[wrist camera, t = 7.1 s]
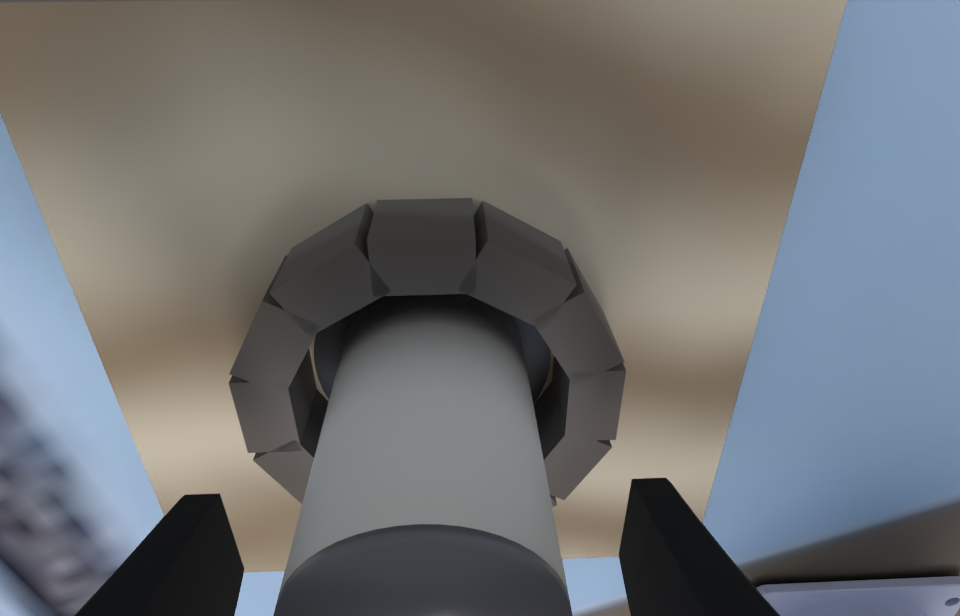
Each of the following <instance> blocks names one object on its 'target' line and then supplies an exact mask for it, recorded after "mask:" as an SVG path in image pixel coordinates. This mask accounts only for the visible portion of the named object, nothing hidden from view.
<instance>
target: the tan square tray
mask: <svg viewBox="0 0 960 616" xmlns="http://www.w3.org/2000/svg"><path fill="white" fill-rule="evenodd" d="M846 2H847V0H0V113H1V116H2V118H3V121H4V123H5V125H6V128H7V130H8V133H9V135H10V138H11V140H12V143H13V145H14V148H15V150H16V152H17V155H18V157H19V160H20V162H21V165H22V167H23V170H24V172H25V175H26V177H27V179H28V182H29V184H30V187H31V189H32V192H33V194H34V197H35V199H36V202H37V204H38V206H39V209H40V211H41V214H42V216H43V219H44V221H45V224H46V226H47V229H48V231H49V234H50V236H51V238H52V241H53V243H54V246H55V248H56V251H57V253H58V256H59V258H60V261H61V263H62V265H63V268H64V270H65V273H66V275H67V278H68V280H69V283H70V285H71V288H72V290H73V292H74V295H75V297H76V300H77V302H78V305H79V307H80V310H81V312H82V315H83V317H84V319H85V322H86V324H87V327H88V329H89V332H90V334H91V337H92V339H93V342H94V344H95V346H96V349H97V351H98V354H99V356H100V359H101V361H102V364H103V366H104V369H105V371H106V373H107V376H108V378H109V381H110V383H111V386H112V388H113V391H114V393H115V396H116V398H117V401H118V403H119V405H120V408H121V410H122V413H123V415H124V418H125V420H126V423H127V425H128V428H129V430H130V432H131V435H132V437H133V440H134V442H135V445H136V447H137V450H138V452H139V455H140V457H141V459H142V462H143V464H144V467H145V469H146V472H147V474H148V477H149V479H150V482H151V484H152V486H153V489H154V491H155V494H156V496H157V499H158V501H159V504H160V506H161V509H162V511H163V513H164V516H165V515H166V514H167V513H168V512H169V511H170V510H171V508H172V507H173V506H174V505H175V504H176V503H177V502H178V501H179V500H180V499H181V498H182V497H183V496H184V495H191V494H219V493H220V495H221V498H222V502H223V505H224V508H225V511H226V514H227V517H228V520H229V523H230V526H231V529H232V532H233V535H234V538H235V542H236V545H237V548H238V551H239V554H240V557H241V560H242V563H243V566H244V572H266V571H285V569H286V565H287V561H288V558H289V554H290V550H291V546H292V542H293V538H294V534H295V530H296V527H297V523H298V519H299V515H300V511H301V507H302V503H303V499H304V496H305V492H306V488H307V484H308V480H309V476H310V472H311V468H312V465H313V461H314V457H315V453H316V449H317V445H318V441H319V437H320V433H321V430H322V426H323V422H324V418H325V414H326V410H327V406H328V402H329V399H330V395H331V391H332V387H333V383H334V379H335V375H336V371H337V368H338V364H339V360H340V356H341V352H342V348H343V344H344V341H345V337H346V333H347V331H348V329H349V327H350V324H351V323H352V321H353V320H354V318H355V317H356V315H357V314H358V313H359V312H360V311H361V309H362V308H363V307H364V306H366V305H368V304H370V303H372V302H373V301H375V300H377V299H379V298H381V297H383V296H406V295H443V294H467V295H470V296H472V297H474V298H476V299H478V300H480V301H482V302H484V303H487V304H489V305H491V306H493V307H495V308H497V309H499V310H502V311H504V312H506V313H508V315H509V316H510V317H511V319H512V320H513V322H514V323H515V325H516V327H517V329H518V331H519V334H520V337H521V341H522V346H523V351H524V357H525V362H526V368H527V373H528V378H529V384H530V389H531V395H532V400H533V405H534V411H535V416H536V422H537V427H538V433H539V438H540V443H541V449H542V454H543V460H544V465H545V470H546V476H547V481H548V487H549V492H550V498H551V503H552V508H553V514H554V519H555V525H556V530H557V535H558V541H559V546H560V552H561V557H562V559H571V558H594V557H618V556H619V549H620V544H621V538H622V532H623V526H624V521H625V515H626V509H627V504H628V498H629V492H630V486H631V481H632V479H642V478H667V479H668V480H669V481H670V482H671V483H672V484H673V486H674V487H675V488H676V490H677V491H678V492H679V494H680V495H681V496H682V498H683V499H684V500H685V502H686V503H687V504H688V506H689V507H690V508H691V509H692V511H693V512H694V513H695V515H696V516H697V517H698V519H699V520H700V521H701V522H703V519H704V515H705V511H706V508H707V504H708V501H709V497H710V493H711V490H712V486H713V483H714V479H715V475H716V472H717V468H718V465H719V461H720V457H721V454H722V450H723V446H724V443H725V439H726V436H727V432H728V428H729V425H730V421H731V418H732V414H733V410H734V407H735V403H736V400H737V396H738V392H739V389H740V385H741V381H742V378H743V374H744V371H745V367H746V363H747V360H748V356H749V353H750V349H751V345H752V342H753V338H754V335H755V331H756V327H757V324H758V320H759V316H760V313H761V309H762V306H763V302H764V298H765V295H766V291H767V288H768V284H769V280H770V277H771V273H772V270H773V266H774V262H775V259H776V255H777V251H778V248H779V244H780V241H781V237H782V233H783V230H784V226H785V223H786V219H787V215H788V212H789V208H790V205H791V201H792V197H793V194H794V190H795V187H796V183H797V179H798V176H799V172H800V168H801V165H802V161H803V158H804V154H805V150H806V147H807V143H808V140H809V136H810V132H811V129H812V125H813V122H814V118H815V114H816V111H817V107H818V103H819V100H820V96H821V93H822V89H823V85H824V82H825V78H826V75H827V71H828V67H829V64H830V60H831V57H832V53H833V49H834V46H835V42H836V38H837V35H838V31H839V28H840V24H841V20H842V17H843V13H844V10H845V6H846Z"/></svg>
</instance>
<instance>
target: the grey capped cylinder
mask: <svg viewBox="0 0 960 616" xmlns="http://www.w3.org/2000/svg"><path fill="white" fill-rule="evenodd" d="M274 616H572V611H571V606H570V600H569V595H568V590H567V584H566V579H565V573H564V568H563V563H562V557H561V552H560V546H559V541H558V535H557V530H556V525H555V519H554V514H553V508H552V503H551V498H550V492H549V487H548V481H547V476H546V470H545V465H544V460H543V454H542V449H541V443H540V438H539V433H538V427H537V422H536V416H535V411H534V405H533V400H532V395H531V389H530V384H529V378H528V373H527V368H526V362H525V357H524V351H523V346H522V341H521V337H520V334H519V331H518V329H517V327H516V325H515V323H514V322H513V320H512V319H511V317H510V316H509V315H508V313H506V312H504V311H502V310H499V309H497V308H495V307H493V306H491V305H489V304H487V303H484V302H482V301H480V300H478V299H476V298H474V297H472V296H470V295H467V294H443V295H406V296H383V297H381V298H379V299H377V300H375V301H373V302H372V303H370V304H368V305H366V306H364V307H363V308H362V309H361V311H360V312H359V313H358V314H357V315H356V317H355V318H354V320H353V321H352V323H351V324H350V327H349V329H348V331H347V333H346V337H345V341H344V344H343V348H342V352H341V356H340V360H339V364H338V368H337V371H336V375H335V379H334V383H333V387H332V391H331V395H330V399H329V402H328V406H327V410H326V414H325V418H324V422H323V426H322V430H321V433H320V437H319V441H318V445H317V449H316V453H315V457H314V461H313V465H312V468H311V472H310V476H309V480H308V484H307V488H306V492H305V496H304V499H303V503H302V507H301V511H300V515H299V519H298V523H297V527H296V530H295V534H294V538H293V542H292V546H291V550H290V554H289V558H288V561H287V565H286V569H285V573H284V577H283V581H282V585H281V589H280V592H279V596H278V600H277V604H276V608H275V612H274Z"/></svg>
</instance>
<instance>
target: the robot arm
mask: <svg viewBox="0 0 960 616" xmlns="http://www.w3.org/2000/svg"><path fill="white" fill-rule="evenodd" d="M619 558H620V564H621V569H622V574H623V579H624V584H625V589H626V594H627V599H628V604H629V609H630V613H631V616H955V614H956V613H957V611H958V610H959V608H960V576H944V577H921V578H899V579H877V580H854V581H832V582H810V583H787V584H766V585H761V586H759V587H757V588H755V586H754V585H753V584H752V583H751V582H750V581H749V579H748V578H747V577H746V576H745V575H744V574H743V572H742V571H741V570H740V569H739V568H738V567H737V565H736V564H735V563H734V562H733V561H732V560H731V558H730V557H729V556H728V555H727V554H726V552H725V551H724V550H723V549H722V547H721V546H720V545H719V544H718V542H717V541H716V540H715V539H714V537H713V536H712V535H711V534H710V532H709V531H708V530H707V529H706V527H705V526H704V525H703V524H702V522H701V521H700V520H699V519H698V517H697V516H696V515H695V513H694V512H693V511H692V509H691V508H690V507H689V506H688V504H687V503H686V502H685V500H684V499H683V498H682V496H681V495H680V494H679V492H678V491H677V490H676V488H675V487H674V486H673V484H672V483H671V482H670V481H669V480H668V479H667V478H642V479H632V481H631V486H630V492H629V498H628V504H627V509H626V515H625V521H624V526H623V532H622V538H621V544H620V549H619ZM243 573H244V566H243V563H242V560H241V557H240V554H239V551H238V548H237V545H236V542H235V538H234V535H233V532H232V529H231V526H230V523H229V520H228V517H227V514H226V511H225V508H224V505H223V502H222V498H221V495H220V493H219V494H191V495H184V496H183V497H182V498H181V499H180V500H179V501H178V502H177V503H176V504H175V505H174V506H173V507H172V508H171V510H170V511H169V512H168V513H167V514H166V515H165V516H164V517H163V518H162V520H161V521H160V522H159V523H158V524H157V525H156V526H155V528H154V529H153V530H152V531H151V532H150V533H149V534H148V535H147V537H146V538H145V539H144V540H143V541H142V542H141V543H140V545H139V546H138V547H137V548H136V549H135V550H134V551H133V552H132V553H131V555H130V556H129V557H128V558H127V559H126V560H125V561H124V562H123V564H122V565H121V566H120V567H119V568H118V569H117V570H116V571H115V572H114V574H113V575H112V576H111V577H110V578H109V579H108V580H107V581H106V582H105V583H104V584H103V585H102V586H101V588H100V589H99V590H98V591H97V592H96V593H95V594H94V595H93V596H92V597H91V598H90V599H89V601H88V602H87V603H86V604H85V605H84V606H83V607H82V608H81V609H80V610H79V611H78V612H77V613H76V614H75V616H234V614H235V610H236V606H237V601H238V596H239V592H240V587H241V582H242V578H243Z"/></svg>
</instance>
